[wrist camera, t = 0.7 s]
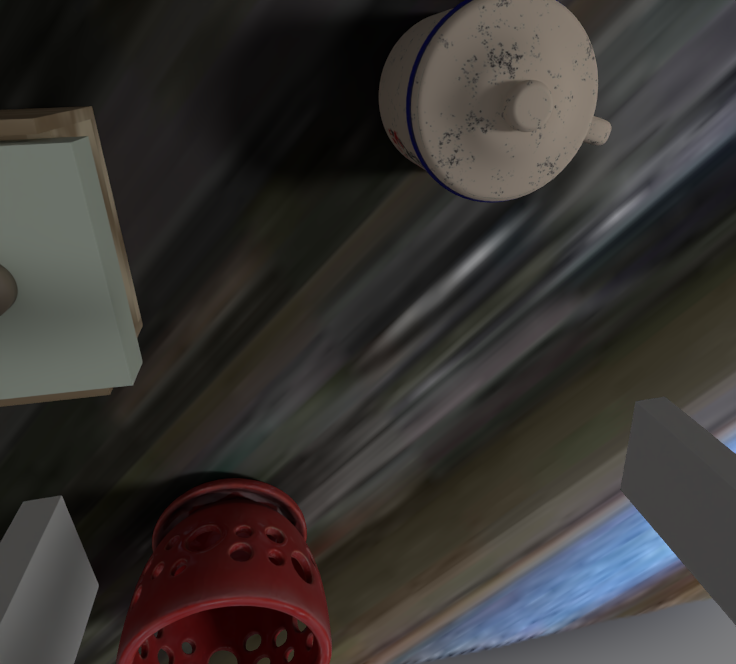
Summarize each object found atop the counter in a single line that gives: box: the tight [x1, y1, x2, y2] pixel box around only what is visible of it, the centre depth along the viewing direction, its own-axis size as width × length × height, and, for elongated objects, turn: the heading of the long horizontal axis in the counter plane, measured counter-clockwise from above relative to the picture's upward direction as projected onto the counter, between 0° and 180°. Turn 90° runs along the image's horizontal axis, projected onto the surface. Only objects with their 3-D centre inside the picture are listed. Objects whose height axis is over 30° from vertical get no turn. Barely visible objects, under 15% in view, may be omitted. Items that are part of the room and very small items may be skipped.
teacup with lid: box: [379, 0, 611, 202], centre depth 28 cm, size 12×9×12 cm
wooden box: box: [0, 106, 143, 407], centre depth 28 cm, size 13×7×8 cm, turn 2°
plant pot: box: [116, 478, 332, 664], centre depth 39 cm, size 13×13×12 cm
